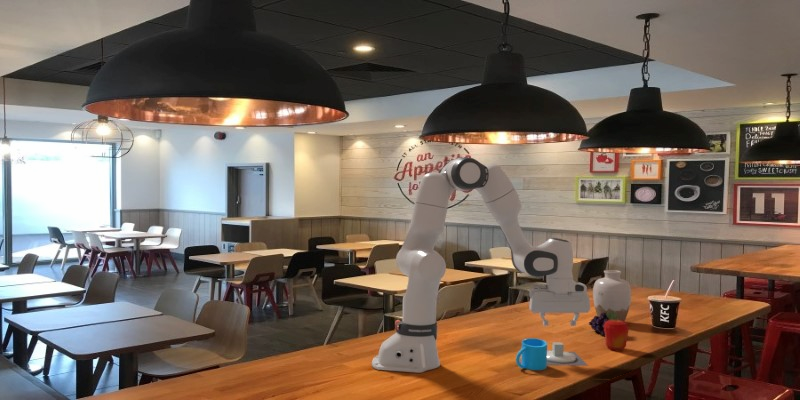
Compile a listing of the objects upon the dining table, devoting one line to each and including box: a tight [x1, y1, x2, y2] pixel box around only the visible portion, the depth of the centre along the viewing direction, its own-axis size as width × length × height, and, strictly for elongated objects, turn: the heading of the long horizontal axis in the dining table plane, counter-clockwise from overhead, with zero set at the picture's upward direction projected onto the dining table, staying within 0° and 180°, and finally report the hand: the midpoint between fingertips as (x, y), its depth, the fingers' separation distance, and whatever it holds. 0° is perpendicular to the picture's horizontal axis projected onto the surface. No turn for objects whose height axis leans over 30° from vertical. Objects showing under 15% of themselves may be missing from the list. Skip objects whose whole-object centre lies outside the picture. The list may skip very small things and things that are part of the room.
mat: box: [547, 351, 588, 366], centre depth 211 cm, size 16×16×1 cm
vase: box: [592, 269, 632, 322], centre depth 268 cm, size 16×16×23 cm
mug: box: [515, 337, 548, 371], centre depth 199 cm, size 12×8×8 cm
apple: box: [604, 320, 630, 352], centre depth 225 cm, size 9×8×12 cm
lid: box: [547, 341, 576, 363], centre depth 211 cm, size 12×12×5 cm
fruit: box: [588, 311, 618, 337], centre depth 248 cm, size 10×11×15 cm
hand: (559, 325), depth 211 cm, fingers open, 8 cm apart
